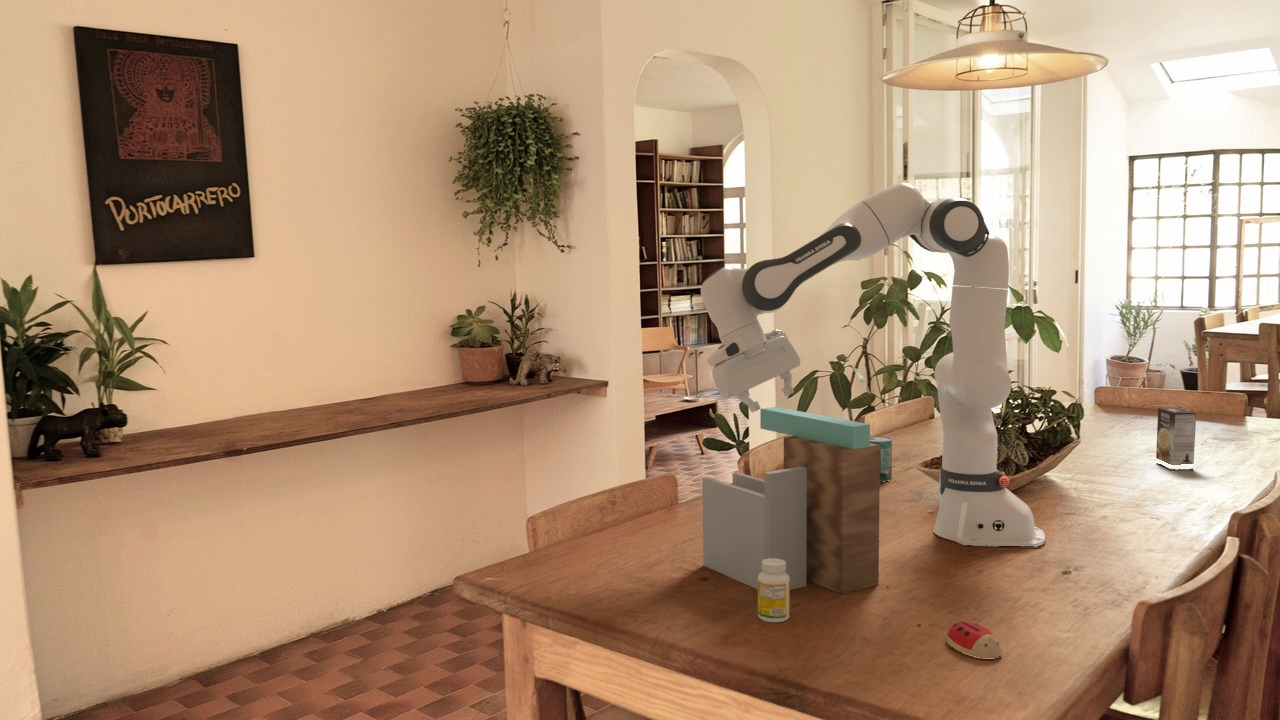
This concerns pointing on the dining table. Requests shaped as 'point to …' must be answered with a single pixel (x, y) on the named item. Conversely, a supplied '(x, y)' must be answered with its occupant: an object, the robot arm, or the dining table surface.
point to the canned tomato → (884, 456)
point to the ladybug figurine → (973, 640)
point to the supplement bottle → (773, 591)
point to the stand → (839, 512)
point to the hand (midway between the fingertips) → (773, 402)
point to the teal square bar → (816, 427)
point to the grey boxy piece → (756, 524)
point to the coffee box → (1176, 435)
